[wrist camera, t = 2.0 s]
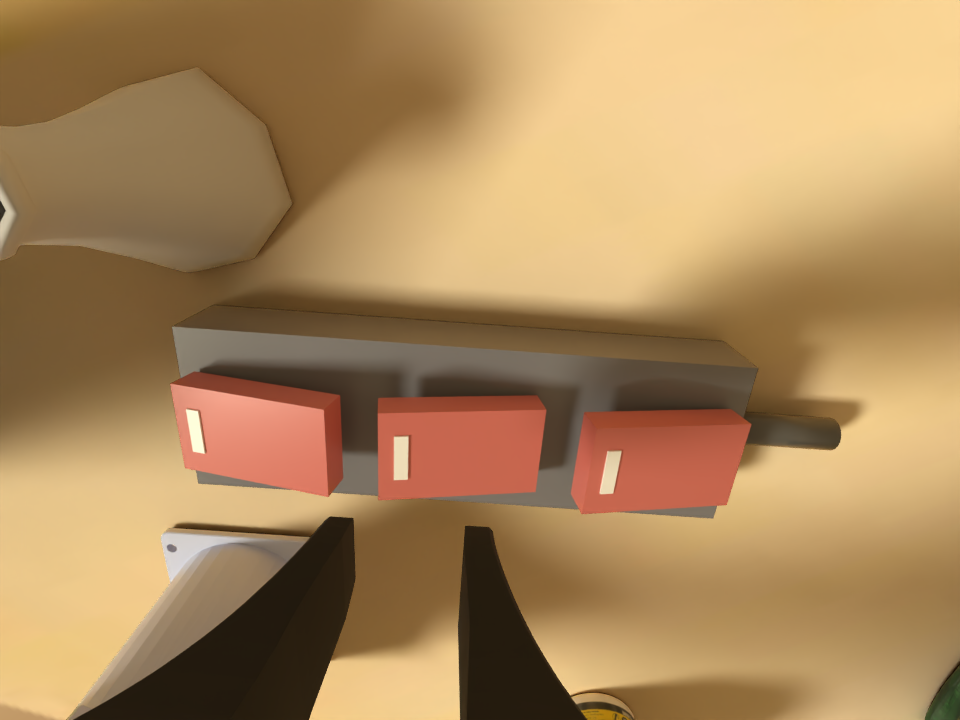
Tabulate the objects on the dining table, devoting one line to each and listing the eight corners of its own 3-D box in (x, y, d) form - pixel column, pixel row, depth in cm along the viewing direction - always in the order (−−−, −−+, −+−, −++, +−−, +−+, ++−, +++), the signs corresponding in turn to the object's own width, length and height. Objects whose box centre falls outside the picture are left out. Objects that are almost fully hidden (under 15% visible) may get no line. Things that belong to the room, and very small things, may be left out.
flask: (203, 28, 18) (-114, -118, 8) (326, 211, 20) (185, 256, 11) (62, 141, 19) (-341, 124, 10) (192, 300, 21) (-37, 408, 12)
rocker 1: (343, 478, 19) (327, 498, 18) (207, 452, 20) (183, 469, 19) (340, 395, 18) (322, 410, 17) (194, 371, 19) (168, 384, 18)
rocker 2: (527, 473, 21) (536, 493, 19) (378, 480, 19) (378, 501, 18) (537, 395, 19) (546, 410, 18) (378, 397, 18) (377, 414, 17)
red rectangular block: (708, 486, 21) (727, 506, 19) (570, 493, 19) (582, 515, 18) (730, 408, 19) (752, 425, 18) (584, 412, 18) (597, 429, 17)
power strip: (789, 484, 24) (834, 532, 21) (232, 446, 24) (193, 489, 21) (838, 349, 22) (897, 381, 18) (213, 305, 21) (165, 330, 18)
